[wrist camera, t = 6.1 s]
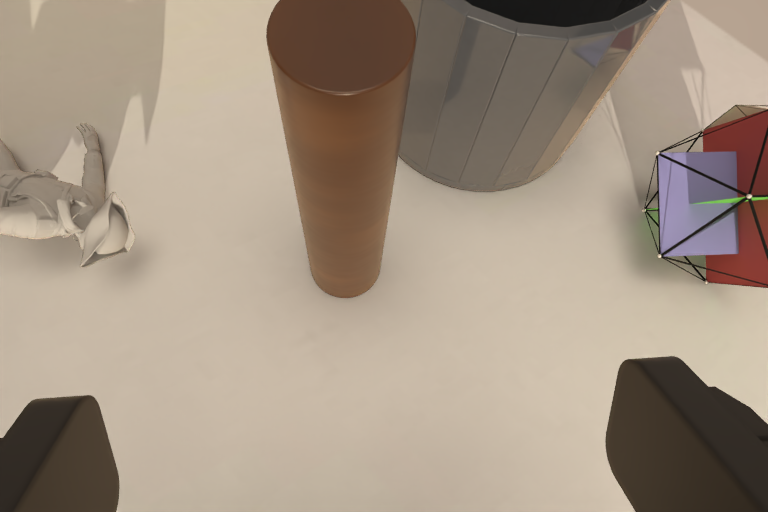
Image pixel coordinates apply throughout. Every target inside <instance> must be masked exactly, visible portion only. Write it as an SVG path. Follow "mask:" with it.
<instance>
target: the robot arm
mask: <svg viewBox="0 0 768 512" xmlns="http://www.w3.org/2000/svg"><path fill="white" fill-rule="evenodd" d="M606 452H607V457H608V461H609V464H610V467H611V470H612V472H613V474H614V476H615V478H616V480H617V481H618V483H619V485H620V486H621V488H622V490H623V491H624V493H625V495H626V496H627V498H628V500H629V501H630V503H631V505H632V506H633V508H634V510H635V511H636V512H768V424H767V423H766V422H765V421H764V420H762V419H761V418H760V417H759V416H758V415H757V414H756V413H755V412H754V411H753V410H752V409H751V408H750V407H748V406H746V405H745V404H743V403H741V402H740V401H738V400H736V399H735V398H733V397H731V396H730V395H728V394H726V393H725V392H723V391H721V390H720V389H718V388H716V387H708V386H707V385H706V384H705V383H704V382H703V381H702V380H701V379H700V378H699V377H698V376H697V375H696V374H695V373H694V372H693V371H692V370H691V369H690V368H689V367H688V366H687V365H686V364H685V363H684V362H683V361H682V360H681V359H679V358H677V357H674V356H670V357H656V358H642V359H627V360H625V361H624V362H623V363H622V364H621V366H620V368H619V371H618V375H617V381H616V386H615V391H614V396H613V401H612V406H611V411H610V416H609V422H608V427H607V432H606ZM118 499H119V476H118V471H117V467H116V464H115V460H114V457H113V453H112V449H111V446H110V442H109V439H108V435H107V432H106V428H105V425H104V421H103V418H102V414H101V410H100V407H99V404H98V402H97V400H96V399H95V398H94V397H93V396H90V395H86V396H72V397H57V398H43V399H35V400H33V401H31V402H30V403H29V404H28V405H27V406H26V407H25V408H24V410H23V411H22V413H21V414H20V415H19V417H18V418H17V419H16V421H15V422H14V424H13V425H12V426H11V428H10V429H9V430H8V432H7V433H6V435H5V436H4V437H3V438H0V512H116V510H117V505H118Z"/></svg>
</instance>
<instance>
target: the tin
mask: <svg viewBox="0 0 768 512" xmlns="http://www.w3.org/2000/svg"><path fill="white" fill-rule="evenodd" d="M401 1H402V3H403V4H404V5H405V6H406V8H407V9H408V11H409V13H410V15H411V17H412V20H413V22H414V26H415V30H416V46H415V53H414V59H413V65H412V71H411V78H410V84H409V90H408V97H407V103H406V109H405V115H404V122H403V128H402V134H401V141H400V147H399V153H398V155H399V156H400V157H401V158H402V159H403V160H404V161H405V162H406V163H407V164H409V165H410V166H411V167H412V168H414V169H415V170H417V171H418V172H420V173H421V174H423V175H424V176H426V177H428V178H430V179H432V180H434V181H436V182H439V183H442V184H445V185H447V186H450V187H455V188H459V189H463V190H471V191H497V190H505V189H509V188H513V187H517V186H520V185H523V184H525V183H528V182H530V181H532V180H534V179H536V178H537V177H539V176H541V175H543V174H544V173H545V172H546V171H548V170H549V169H550V168H551V167H553V165H554V164H555V163H556V162H557V161H558V160H559V159H560V158H561V156H562V155H563V154H564V152H565V151H566V150H567V149H568V147H569V146H570V145H571V144H572V143H573V141H574V140H575V138H576V137H577V135H578V134H579V132H580V131H581V130H582V128H583V127H584V125H585V124H586V122H587V121H588V119H589V118H590V117H591V115H592V114H593V112H594V111H595V109H596V108H597V106H598V105H599V104H600V102H601V101H602V99H603V98H604V96H605V95H606V93H607V92H608V91H609V89H610V88H611V86H612V85H613V83H614V82H615V80H616V79H617V78H618V76H619V75H620V73H621V72H622V70H623V69H624V67H625V66H626V64H627V63H628V62H629V60H630V59H631V57H632V56H633V54H634V53H635V51H636V50H637V49H638V47H639V46H640V44H641V43H642V41H643V40H644V38H645V37H646V36H647V34H648V33H649V31H650V30H651V28H652V27H653V25H654V24H655V23H656V21H657V20H658V18H659V17H660V15H661V14H662V12H663V11H664V10H665V8H666V7H667V5H668V4H669V2H670V1H671V0H401Z"/></svg>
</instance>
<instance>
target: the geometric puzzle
mask: <svg viewBox="0 0 768 512" xmlns="http://www.w3.org/2000/svg"><path fill="white" fill-rule="evenodd" d="M700 132H701V133H700ZM700 132H698V133H700V134H699V136H698V137H697V138H694V139H696V140H697V139H698V138H699V137H702V136H703V152H688V151H689V150H690V149H691V147H692V146H693V145H694V143H695V142H696V140H695V141H694V142H693V144H692V145H691V146H690V148H689V149H688V150H687V152H681V153H661V152H663V151H666V150H669V149H671V148H674V147H676V146H679V145H681V144H684V143H687V142H689V141H692V140H694V139H691V140H689V141H686V142H684V143H681V144H679V145H676V144H678V143H680V142H682V141H684V140H686V139H688V138H690V137H692V136H694V135H696V134H698V133H696V134H694V135H692V136H690V137H688V138H686V139H684V140H682V141H680V142H678V143H676V144H674V145H676V146H674V145H672V146H674V147H672V146H670V147H671V148H670V147H668V148H666V149H664V150H662V151H660V152H659V151H656V153H655V154H656V158H657V182H658V191H657V192H656V194H657V193H658V208H651V209H646V208H647V207H648V205H649V204H650V202H651V201H652V200H653V198H654V197H655V196H656V194H655V195H654V196H653V198H652V199H651V200H650V202H649V203H648V204H647V206H646V203H645V206H646V207H644V208H643V209H642V211H643V212H644V211H645V214H646V213H647V214H648V215H649V217H650V218H651V219H652V220H653V221H654V222H655V224H656V225H657V226H658V227H659V251H658V253H659V254H658V255H657V256H658V257H659V258H663V259H665V258H666V259H670V260H673V261H677V262H681V263H685V264H688V265H692V267H693V268H694V269H695V270H696V271H697V272H698V274H699V275H700V276H701V277H702V278H703V279H704V280H703V279H701V278H700V279H701V280H703V281H705V284H708V283H720V284H731V285H742V286H752V287H763V288H768V105H735V106H733V107H732V108H731V109H730V110H728V111H727V112H726V113H724V114H723V115H722V116H721V117H719V118H718V119H717V120H715V121H714V122H713V123H712V124H710V125H709V126H708V127H706V128H705V129H701V131H700ZM702 133H703V135H702V136H700V135H701V134H702ZM655 163H656V160H655ZM654 167H655V164H654ZM653 171H654V168H653ZM652 175H653V173H652ZM651 180H652V177H651ZM650 184H651V181H650ZM649 188H650V186H649ZM648 193H649V190H648ZM647 197H648V194H647ZM646 201H647V199H646ZM647 211H658V222H659V225H658V224H657V222H656V221H655V220H654V219H653V218H652V217H651V216H650V214H649V213H648V212H647ZM646 217H647V215H646ZM647 220H648V218H647ZM648 223H649V221H648ZM649 226H650V224H649ZM650 229H651V227H650ZM651 232H652V230H651ZM652 235H653V233H652ZM653 238H654V236H653ZM654 241H655V239H654ZM655 244H656V242H655ZM656 247H657V245H656ZM657 250H658V248H657ZM690 255H706V268H705V267H701V266H697V265H694V264H692V263H691V262H690V261H689V260H688V258H687V257H686V256H690ZM664 256H684V257H685V258H686V260H687V261H688V262H689V263H686V262H683V261H679V260H675V259H671V258H668V257H664ZM666 259H665V260H666ZM667 261H668V260H667ZM669 262H670V261H669ZM670 263H672V262H670ZM672 264H674V263H672ZM674 265H676V264H674ZM676 266H677V265H676ZM694 266H696V267H699V268H703V269H706V279H705V278H704V277H703V276H702V275H701V274H700V272H699V271H698V270H697V269H696V268H695V267H694ZM678 267H679V266H678ZM679 268H681V267H679ZM681 269H683V268H681ZM683 270H685V269H683ZM685 271H686V270H685ZM687 272H688V271H687ZM689 273H690V272H689ZM690 274H692V273H690ZM692 275H694V274H692ZM694 276H696V275H694ZM696 277H697V276H696ZM698 278H699V277H698Z"/></svg>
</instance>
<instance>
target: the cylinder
mask: <svg viewBox="0 0 768 512" xmlns="http://www.w3.org/2000/svg"><path fill="white" fill-rule="evenodd" d="M266 38H267V45H268V50H269V56H270V61H271V66H272V71H273V76H274V82H275V87H276V92H277V97H278V102H279V107H280V113H281V118H282V123H283V128H284V133H285V139H286V144H287V149H288V154H289V159H290V165H291V170H292V175H293V180H294V185H295V190H296V196H297V201H298V206H299V211H300V216H301V222H302V227H303V232H304V237H305V242H306V248H307V253H308V258H309V263H310V268H311V273H312V276H313V278H314V280H315V282H316V284H317V285H318V286H319V287H320V288H321V289H322V290H323V291H325V292H326V293H328V294H330V295H332V296H335V297H341V298H350V297H355V296H358V295H361V294H363V293H364V292H366V291H367V290H369V289H370V288H371V287H372V286H373V284H374V283H375V281H376V280H377V278H378V275H379V272H380V266H381V260H382V254H383V247H384V241H385V235H386V229H387V222H388V216H389V210H390V203H391V197H392V191H393V185H394V178H395V172H396V166H397V159H398V153H399V147H400V141H401V134H402V128H403V122H404V115H405V109H406V103H407V97H408V90H409V84H410V78H411V71H412V65H413V59H414V53H415V46H416V30H415V26H414V22H413V20H412V17H411V15H410V13H409V11H408V9H407V8H406V6H405V5H404V4H403V3H402V1H401V0H280V1H279V2H278V3H277V4H276V6H275V8H274V9H273V11H272V13H271V16H270V18H269V21H268V25H267V35H266Z"/></svg>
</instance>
